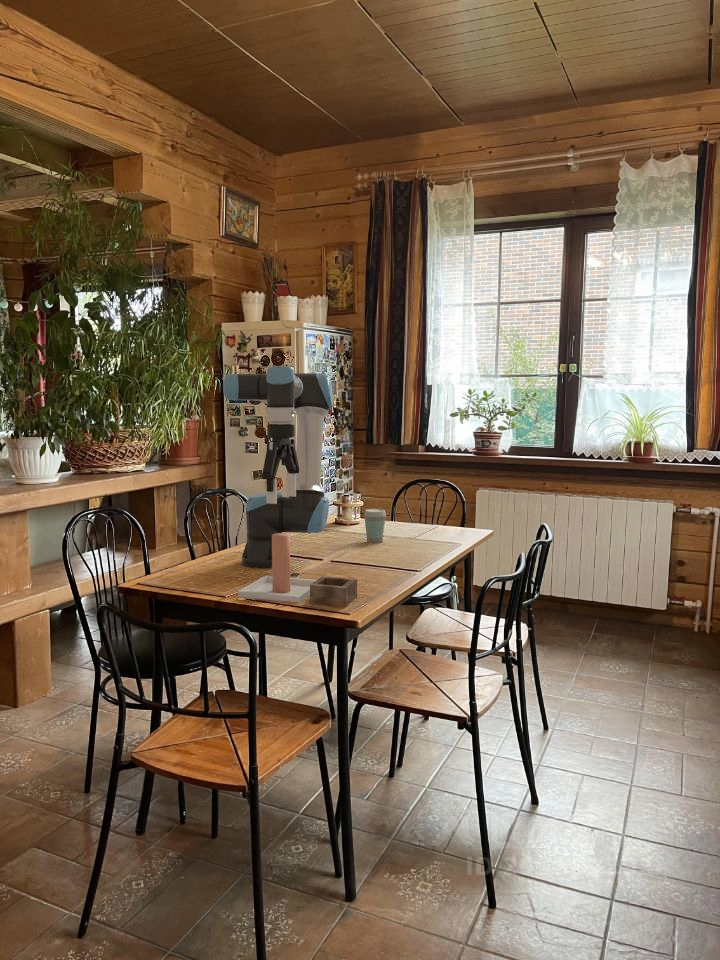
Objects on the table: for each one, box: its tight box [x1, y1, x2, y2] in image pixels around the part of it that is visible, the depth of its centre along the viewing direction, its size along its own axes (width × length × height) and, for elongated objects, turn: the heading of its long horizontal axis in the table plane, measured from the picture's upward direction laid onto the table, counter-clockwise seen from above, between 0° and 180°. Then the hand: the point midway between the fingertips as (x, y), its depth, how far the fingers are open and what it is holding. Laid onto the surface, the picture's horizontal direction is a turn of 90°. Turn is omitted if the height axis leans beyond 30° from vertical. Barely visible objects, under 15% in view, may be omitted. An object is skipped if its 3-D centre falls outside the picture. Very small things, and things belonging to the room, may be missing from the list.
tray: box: [237, 575, 317, 603], centre depth 207 cm, size 18×18×2 cm
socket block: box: [309, 575, 358, 608], centre depth 198 cm, size 10×10×6 cm
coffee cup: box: [363, 508, 387, 544], centre depth 279 cm, size 9×8×12 cm
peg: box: [271, 532, 291, 593], centre depth 206 cm, size 5×5×16 cm
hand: (281, 499), depth 205 cm, fingers open, 13 cm apart
